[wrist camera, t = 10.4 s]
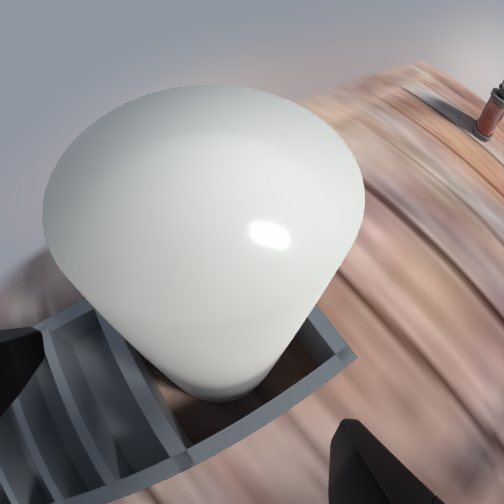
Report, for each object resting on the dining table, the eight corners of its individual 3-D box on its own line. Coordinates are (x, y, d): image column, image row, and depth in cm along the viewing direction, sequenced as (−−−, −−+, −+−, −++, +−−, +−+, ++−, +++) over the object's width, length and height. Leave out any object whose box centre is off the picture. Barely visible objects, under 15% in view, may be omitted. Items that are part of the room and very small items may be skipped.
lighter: (487, 145, 32) (516, 93, 24) (469, 131, 33) (496, 78, 25) (493, 132, 35) (517, 87, 27) (477, 119, 37) (500, 73, 28)
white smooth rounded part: (233, 423, 14) (250, 420, 3) (142, 359, 16) (-1, 201, 5) (292, 334, 17) (396, 149, 6) (205, 281, 18) (185, 68, 7)
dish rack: (20, 522, 8) (-12, 530, 5) (-32, 391, 12) (-65, 379, 9) (337, 369, 16) (361, 354, 13) (243, 245, 20) (246, 210, 17)
